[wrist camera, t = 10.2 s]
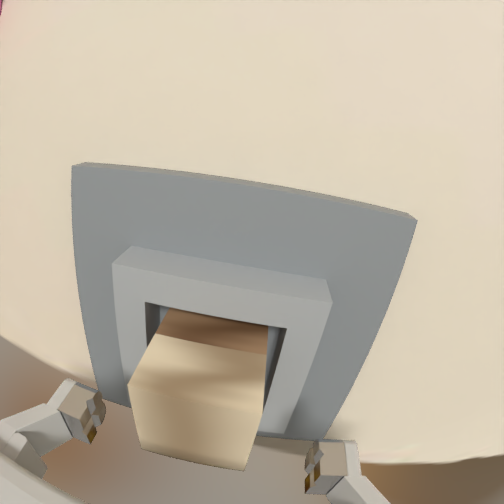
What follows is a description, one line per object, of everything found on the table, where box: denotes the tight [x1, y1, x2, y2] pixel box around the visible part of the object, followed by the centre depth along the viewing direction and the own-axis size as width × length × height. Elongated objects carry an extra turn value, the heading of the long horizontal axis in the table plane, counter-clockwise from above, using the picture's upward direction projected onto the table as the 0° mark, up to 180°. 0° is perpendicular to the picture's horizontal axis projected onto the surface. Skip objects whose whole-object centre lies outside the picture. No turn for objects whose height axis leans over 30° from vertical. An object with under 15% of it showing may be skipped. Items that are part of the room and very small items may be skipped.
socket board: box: [71, 162, 418, 441], centre depth 15 cm, size 16×16×3 cm
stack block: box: [127, 307, 268, 471], centre depth 12 cm, size 4×4×6 cm
